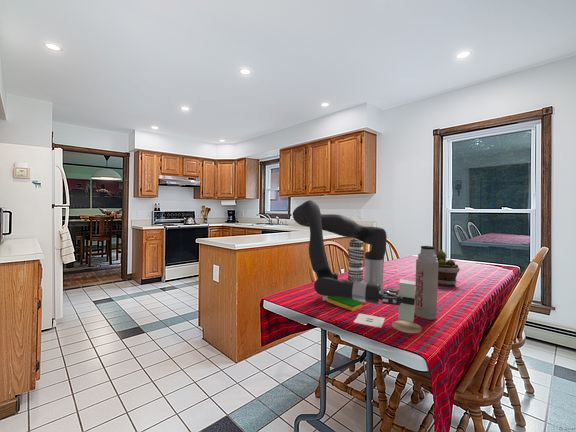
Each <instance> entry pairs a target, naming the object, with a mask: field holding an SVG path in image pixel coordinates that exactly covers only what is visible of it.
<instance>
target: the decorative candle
mask: <svg viewBox="0 0 576 432" xmlns="http://www.w3.org/2000/svg"><path fill="white" fill-rule="evenodd" d="M348 242H349V245H348V249H347V251H348V252H347V258H348V259H347V260H348V261H347V262H348V269H347V273H348V274H347V280H350V281H363V280H364V278H363V277H364V273H363V272H364V270H363V263H364V259H365V256H363V255H365V249H364V245H363V243H364V242H362V241H360V240H358V239H355V238H351V239H350V240H348Z"/></svg>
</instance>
